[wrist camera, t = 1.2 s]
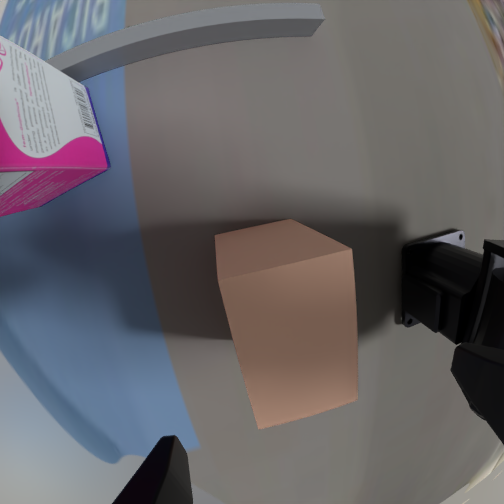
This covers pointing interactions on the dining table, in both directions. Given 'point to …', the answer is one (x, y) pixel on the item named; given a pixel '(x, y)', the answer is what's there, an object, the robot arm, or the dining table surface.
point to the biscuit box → (290, 318)
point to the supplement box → (43, 132)
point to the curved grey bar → (188, 35)
